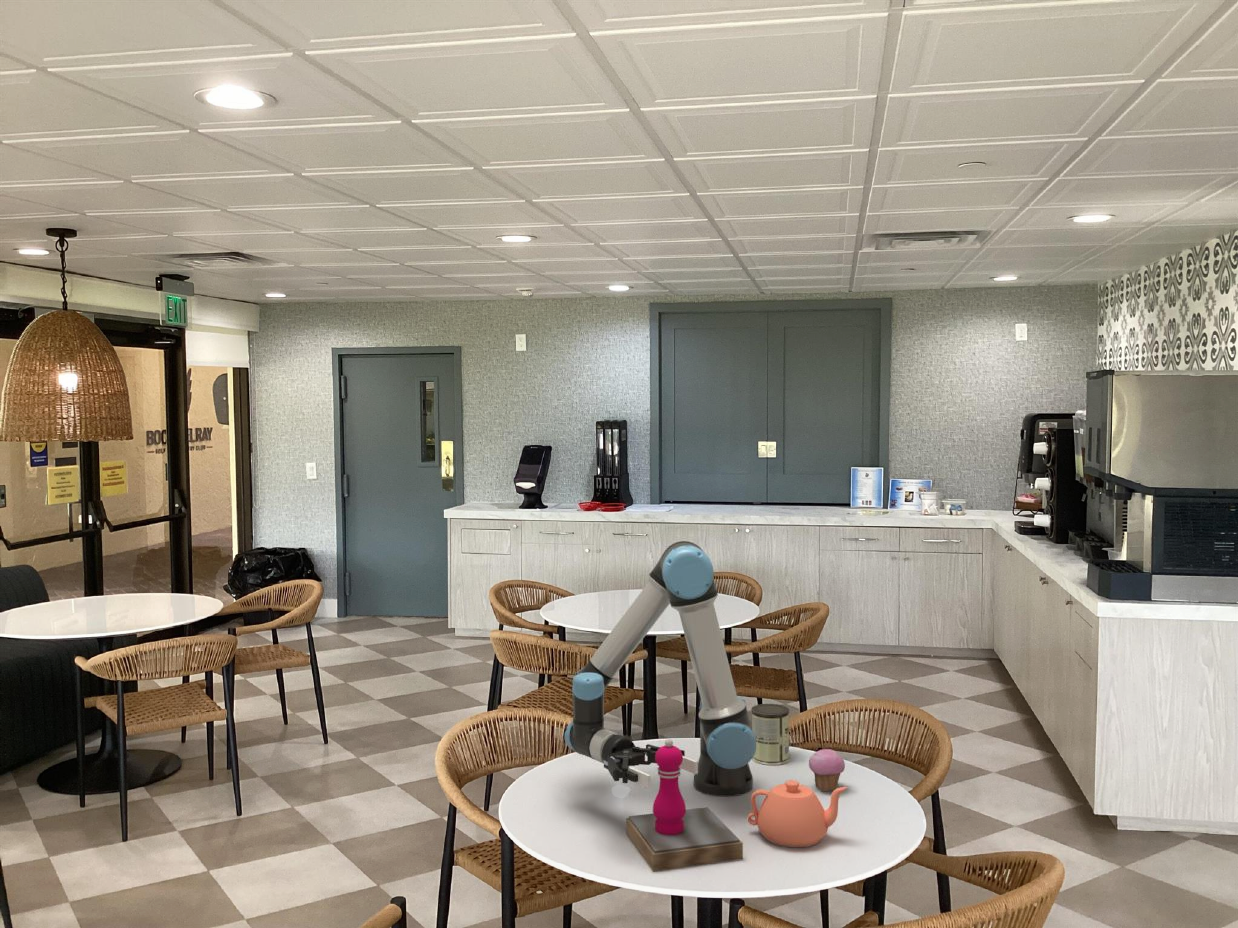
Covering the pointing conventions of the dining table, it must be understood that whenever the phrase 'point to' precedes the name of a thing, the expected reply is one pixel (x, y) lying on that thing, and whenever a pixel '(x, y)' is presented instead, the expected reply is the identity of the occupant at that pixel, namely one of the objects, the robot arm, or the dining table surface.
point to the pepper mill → (669, 791)
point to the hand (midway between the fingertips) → (673, 774)
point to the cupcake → (826, 768)
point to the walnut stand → (685, 841)
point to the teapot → (793, 814)
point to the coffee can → (771, 733)
